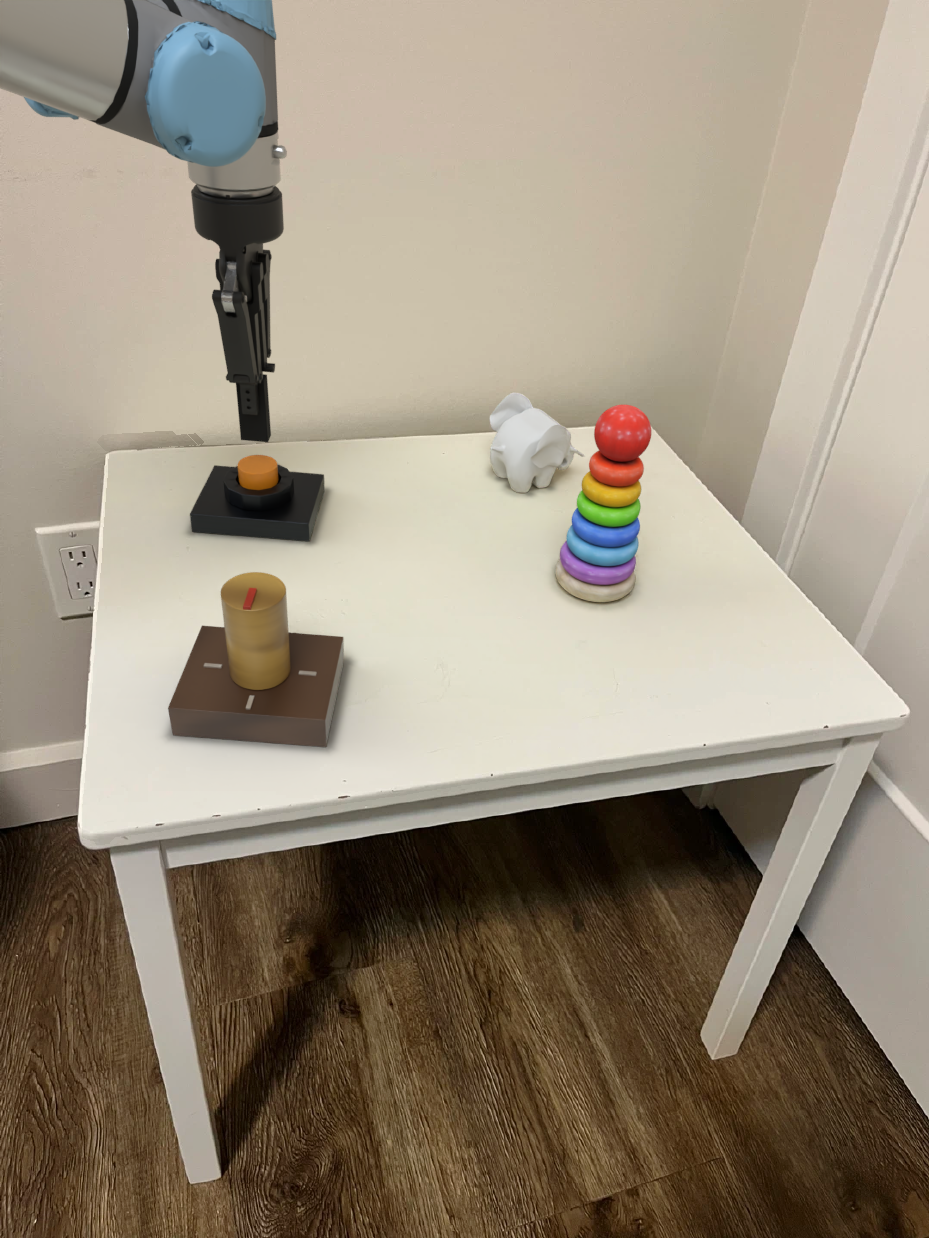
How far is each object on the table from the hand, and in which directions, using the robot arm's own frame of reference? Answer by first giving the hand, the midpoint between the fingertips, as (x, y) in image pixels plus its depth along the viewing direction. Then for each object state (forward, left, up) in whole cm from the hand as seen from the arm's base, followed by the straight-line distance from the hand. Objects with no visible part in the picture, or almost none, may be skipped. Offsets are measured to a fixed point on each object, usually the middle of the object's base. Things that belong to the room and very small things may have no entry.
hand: (256, 437), depth 92 cm
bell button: (0, 0, -5) cm, 5 cm away
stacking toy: (+35, -8, -9) cm, 37 cm away
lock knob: (+6, -28, -6) cm, 29 cm away
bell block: (0, 0, -9) cm, 9 cm away
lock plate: (+6, -28, -9) cm, 30 cm away
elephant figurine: (+29, +12, -9) cm, 32 cm away
